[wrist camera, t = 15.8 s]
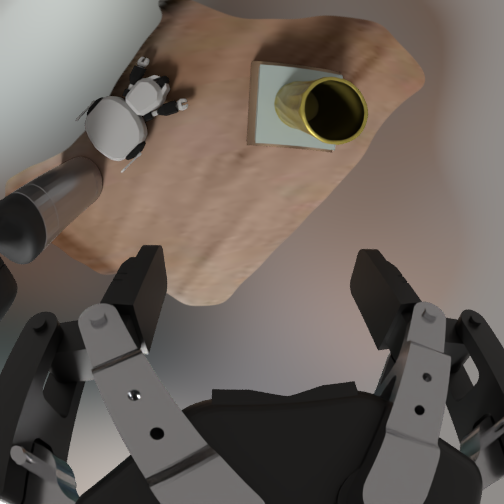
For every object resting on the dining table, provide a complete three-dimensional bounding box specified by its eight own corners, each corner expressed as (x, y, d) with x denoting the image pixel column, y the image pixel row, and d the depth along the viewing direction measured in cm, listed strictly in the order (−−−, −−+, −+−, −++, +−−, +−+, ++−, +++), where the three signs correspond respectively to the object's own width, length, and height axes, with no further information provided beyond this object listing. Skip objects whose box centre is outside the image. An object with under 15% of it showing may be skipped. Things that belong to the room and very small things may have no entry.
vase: (296, 71, 27) (331, 54, 15) (334, 104, 29) (388, 113, 17) (263, 106, 29) (275, 112, 17) (302, 138, 32) (337, 167, 19)
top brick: (254, 138, 35) (255, 142, 32) (258, 68, 30) (260, 64, 27) (326, 144, 36) (334, 150, 32) (333, 77, 30) (342, 75, 27)
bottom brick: (246, 140, 39) (246, 145, 36) (251, 64, 33) (251, 60, 29) (324, 147, 40) (332, 152, 36) (332, 73, 33) (340, 72, 30)
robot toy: (148, 54, 32) (84, 120, 35) (139, 49, 28) (70, 123, 31) (196, 106, 37) (128, 169, 41) (192, 106, 33) (118, 176, 37)
